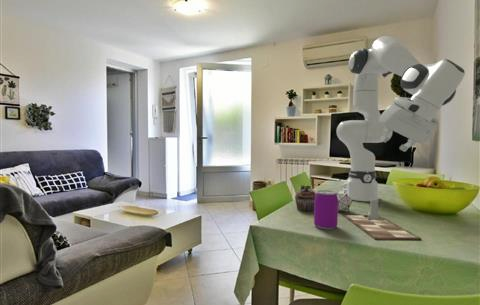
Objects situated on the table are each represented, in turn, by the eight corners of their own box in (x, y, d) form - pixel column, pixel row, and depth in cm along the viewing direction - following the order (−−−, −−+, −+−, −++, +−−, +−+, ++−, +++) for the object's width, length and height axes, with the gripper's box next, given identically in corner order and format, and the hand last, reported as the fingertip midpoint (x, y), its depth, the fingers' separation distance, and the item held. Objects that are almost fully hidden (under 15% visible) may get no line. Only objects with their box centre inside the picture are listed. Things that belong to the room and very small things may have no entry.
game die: (346, 221, 119) (357, 205, 113) (326, 212, 121) (335, 196, 114) (347, 206, 126) (358, 190, 120) (328, 198, 127) (338, 182, 121)
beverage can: (313, 228, 97) (314, 193, 96) (314, 222, 104) (315, 189, 104) (337, 231, 95) (339, 194, 94) (336, 224, 102) (337, 190, 102)
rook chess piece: (364, 217, 112) (365, 196, 111) (376, 217, 112) (376, 196, 112) (371, 221, 107) (371, 199, 107) (382, 220, 108) (383, 199, 107)
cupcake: (320, 212, 118) (321, 188, 118) (296, 212, 119) (297, 187, 118) (315, 206, 128) (315, 184, 127) (293, 206, 128) (293, 183, 128)
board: (343, 215, 113) (343, 214, 113) (378, 216, 114) (378, 215, 114) (375, 239, 87) (375, 238, 87) (421, 240, 88) (421, 238, 88)
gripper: (433, 118, 100) (406, 151, 105) (392, 94, 93) (365, 131, 98) (447, 125, 94) (419, 160, 100) (405, 101, 87) (376, 140, 92)
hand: (392, 145), depth 99 cm, fingers open, 8 cm apart
